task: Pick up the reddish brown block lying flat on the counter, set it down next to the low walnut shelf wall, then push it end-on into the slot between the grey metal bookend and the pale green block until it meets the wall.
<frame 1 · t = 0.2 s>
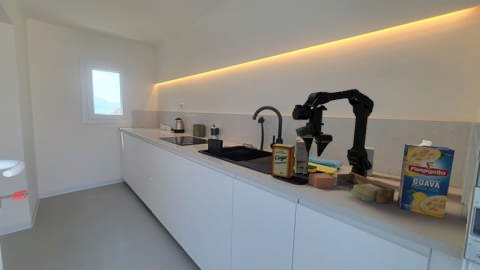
hand: (313, 154, 89), 13 cm above the countertop, tool pointing down, fingers open, 9 cm apart
skincare box: (362, 174, 107), on the countertop
pale green block: (366, 196, 76), on the countertop
reddish brown block: (321, 185, 88), on the countertop
shelf wall: (367, 191, 82), on the countertop
coffee box: (300, 172, 106), on the countertop
beverage box: (418, 209, 67), on the countertop
bookend: (344, 184, 89), on the countertop
milk: (420, 190, 86), on the countertop
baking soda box: (281, 175, 99), on the countertop
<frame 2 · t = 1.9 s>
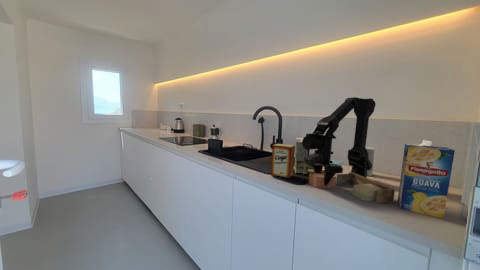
hand: (321, 182, 88), 1 cm above the countertop, tool pointing down, fingers closed on reddish brown block, 6 cm apart
reddish brown block: (321, 184, 88), on the countertop, touching gripper
everything else where it was.
when the fingers open (2 cm above the countertop, at t = 5.3 s): reddish brown block drops 1 cm, on the countertop.
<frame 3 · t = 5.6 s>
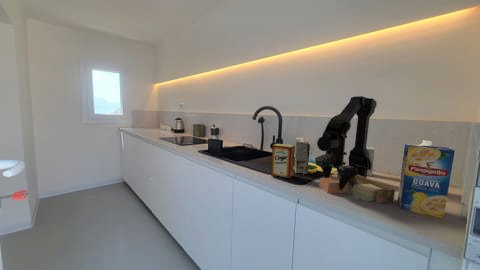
hand: (333, 185, 82), 2 cm above the countertop, tool pointing down, fingers open, 9 cm apart
reddish brown block: (332, 190, 82), on the countertop
everything else where it was.
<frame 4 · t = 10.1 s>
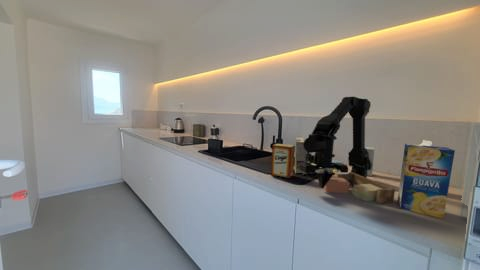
hand: (321, 187, 80), 1 cm above the countertop, tool pointing down, fingers closed
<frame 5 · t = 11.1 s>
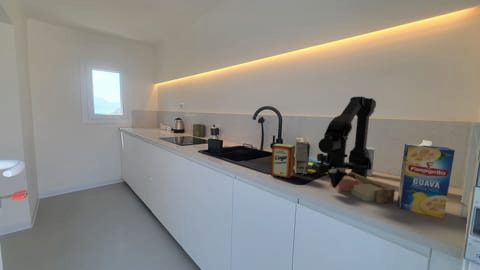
hand: (334, 187, 81), 1 cm above the countertop, tool pointing down, fingers closed
reddish brown block: (342, 188, 85), on the countertop, touching gripper
everything else where it was.
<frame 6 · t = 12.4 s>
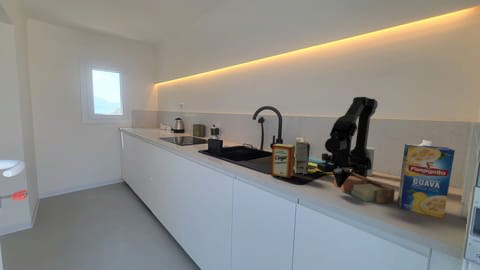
hand: (338, 187, 81), 2 cm above the countertop, tool pointing down, fingers closed
reddish brown block: (347, 188, 85), on the countertop
everything else where it was.
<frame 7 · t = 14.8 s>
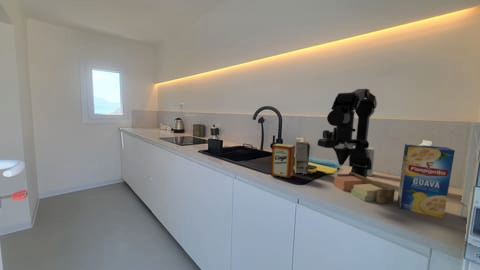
hand: (340, 164, 77), 12 cm above the countertop, tool pointing down, fingers closed
nothing on the countertop moved.
at the end: reddish brown block 1.4 cm from the target spot, on the countertop; reddish brown block tilted 0°; the gripper is holding nothing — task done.
